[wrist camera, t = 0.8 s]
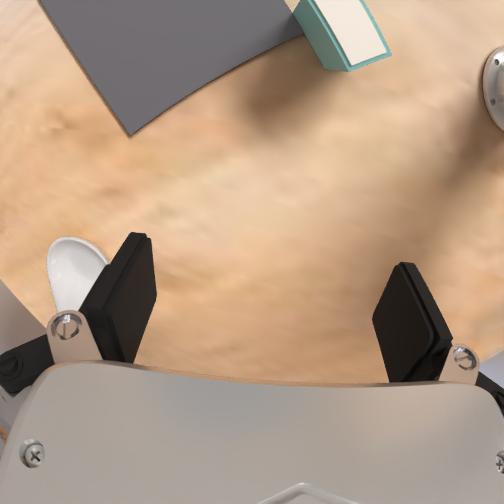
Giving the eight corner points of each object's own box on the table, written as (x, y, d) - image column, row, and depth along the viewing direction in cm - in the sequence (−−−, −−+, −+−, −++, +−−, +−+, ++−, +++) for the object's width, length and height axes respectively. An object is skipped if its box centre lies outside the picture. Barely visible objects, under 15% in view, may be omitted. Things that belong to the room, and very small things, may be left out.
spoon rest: (57, 216, 39) (31, 242, 33) (126, 240, 41) (107, 272, 35) (63, 318, 52) (48, 346, 46) (116, 339, 54) (104, 369, 48)
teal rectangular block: (325, 0, 24) (350, -22, 15) (356, 55, 27) (393, 55, 18) (291, 14, 25) (304, -6, 16) (324, 69, 28) (349, 72, 20)
